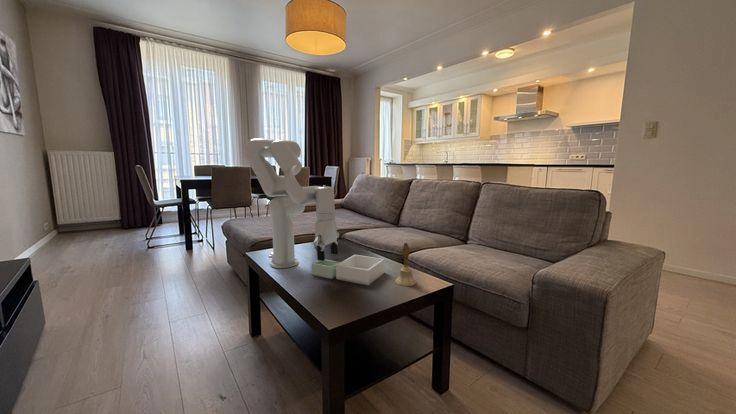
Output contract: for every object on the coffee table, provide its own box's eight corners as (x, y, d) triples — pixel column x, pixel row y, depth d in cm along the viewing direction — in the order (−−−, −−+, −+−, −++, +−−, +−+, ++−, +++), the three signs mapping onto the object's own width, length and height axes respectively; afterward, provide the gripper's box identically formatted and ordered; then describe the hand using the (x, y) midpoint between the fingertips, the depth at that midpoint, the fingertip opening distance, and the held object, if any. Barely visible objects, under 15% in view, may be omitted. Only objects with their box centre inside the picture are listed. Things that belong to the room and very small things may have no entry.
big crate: (336, 279, 123) (336, 264, 122) (355, 267, 137) (354, 254, 136) (368, 285, 116) (368, 270, 115) (384, 272, 130) (384, 259, 129)
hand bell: (406, 288, 114) (407, 247, 112) (390, 281, 120) (391, 242, 118) (420, 282, 119) (421, 243, 117) (405, 276, 126) (405, 239, 123)
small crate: (311, 274, 127) (311, 263, 127) (321, 269, 134) (321, 258, 133) (331, 278, 123) (331, 267, 122) (340, 273, 129) (340, 262, 128)
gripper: (330, 213, 134) (331, 250, 136) (305, 219, 119) (307, 261, 121) (344, 213, 130) (346, 252, 133) (321, 220, 115) (323, 264, 117)
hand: (328, 256), depth 127 cm, fingers open, 9 cm apart
